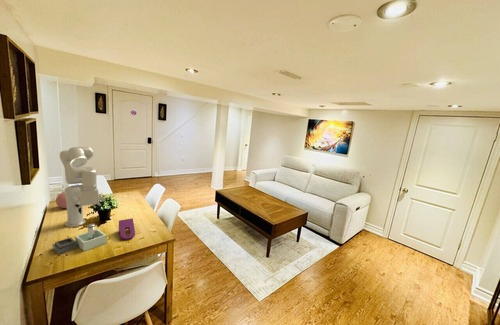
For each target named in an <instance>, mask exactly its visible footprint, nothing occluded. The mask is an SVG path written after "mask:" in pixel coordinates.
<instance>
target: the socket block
mask: <svg viewBox="0 0 500 325" xmlns="http://www.w3.org/2000/svg"><path fill="white" fill-rule="evenodd" d="M51 246H52V248H51V249H52V250H53V251H54V252H55V253H56V254H57V255H61V254H64V253H67V252H70V251H72V250H75V249H79V247H78V243H77V242H76V241H75V239H74V238H72V237H71V236H70V237H68V238H64V239H61V240H58V241H55V242H54V243H52V245H51Z"/></svg>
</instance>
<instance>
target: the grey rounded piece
mask: <svg viewBox="0 0 500 325" xmlns="http://www.w3.org/2000/svg"><path fill="white" fill-rule="evenodd" d="M86 228H87V232H88V240H91V239H94V238H95V234H94V230H95V228H96V223H89V224H87V225H86ZM88 240H87V241H88Z"/></svg>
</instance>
